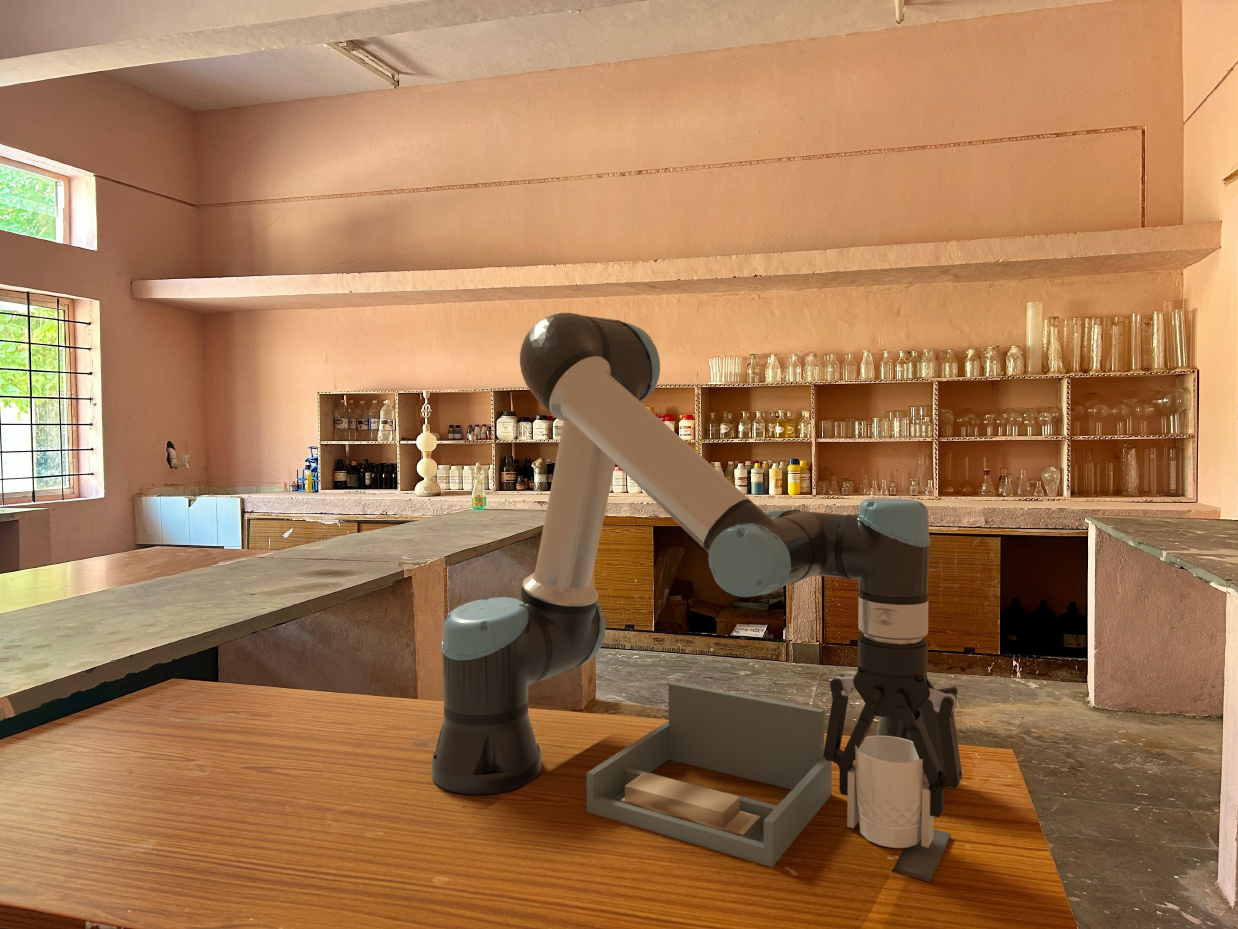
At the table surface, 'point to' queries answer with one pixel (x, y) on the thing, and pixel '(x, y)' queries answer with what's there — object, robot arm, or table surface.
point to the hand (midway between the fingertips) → (889, 831)
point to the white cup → (889, 791)
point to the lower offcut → (739, 825)
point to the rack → (726, 767)
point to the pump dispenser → (898, 729)
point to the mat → (922, 857)
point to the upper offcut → (683, 799)
